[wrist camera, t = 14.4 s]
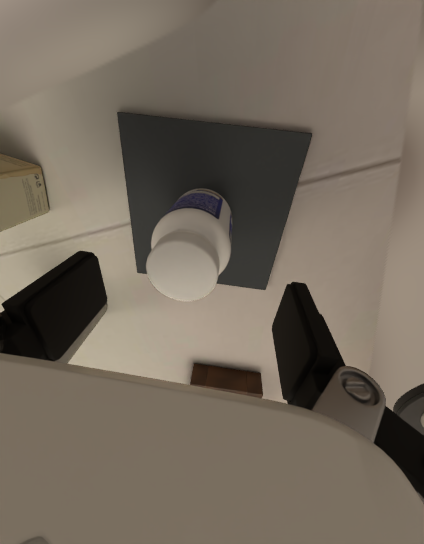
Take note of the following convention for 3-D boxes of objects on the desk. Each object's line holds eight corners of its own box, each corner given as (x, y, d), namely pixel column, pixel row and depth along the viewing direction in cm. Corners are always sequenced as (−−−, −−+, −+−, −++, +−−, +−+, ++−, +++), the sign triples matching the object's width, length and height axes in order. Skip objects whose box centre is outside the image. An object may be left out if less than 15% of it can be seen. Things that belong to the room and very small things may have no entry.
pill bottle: (161, 212, 19) (112, 262, 11) (207, 173, 17) (184, 204, 9) (199, 255, 21) (178, 321, 13) (244, 225, 19) (249, 285, 11)
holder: (260, 373, 31) (263, 394, 29) (248, 405, 37) (248, 426, 34) (194, 363, 32) (190, 383, 29) (191, 396, 37) (187, 416, 35)
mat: (310, 133, 15) (313, 133, 14) (264, 287, 23) (265, 290, 22) (120, 112, 15) (116, 111, 15) (139, 270, 23) (137, 272, 23)
